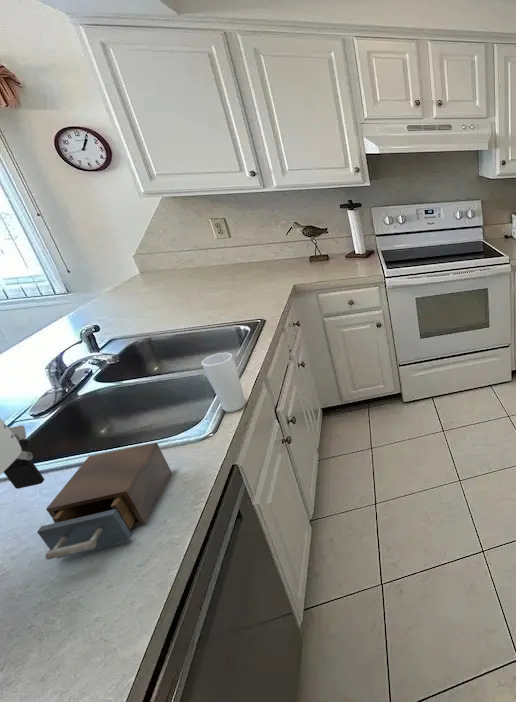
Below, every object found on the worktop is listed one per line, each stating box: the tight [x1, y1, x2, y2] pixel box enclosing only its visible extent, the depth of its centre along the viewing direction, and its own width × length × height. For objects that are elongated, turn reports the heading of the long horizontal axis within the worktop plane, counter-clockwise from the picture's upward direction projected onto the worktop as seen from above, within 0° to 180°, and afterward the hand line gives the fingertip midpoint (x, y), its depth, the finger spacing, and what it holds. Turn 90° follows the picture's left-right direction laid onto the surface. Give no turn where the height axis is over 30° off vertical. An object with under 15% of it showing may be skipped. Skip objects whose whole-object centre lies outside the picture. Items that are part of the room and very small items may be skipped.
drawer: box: [36, 495, 136, 561], centre depth 74 cm, size 16×10×7 cm, turn 18°
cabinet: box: [45, 442, 173, 529], centre depth 80 cm, size 14×12×9 cm
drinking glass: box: [201, 352, 246, 413], centre depth 107 cm, size 7×7×15 cm
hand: (8, 509), depth 58 cm, fingers open, 9 cm apart
